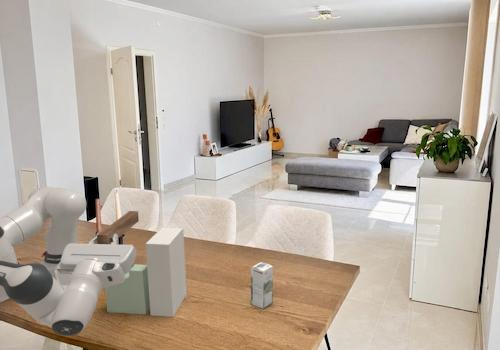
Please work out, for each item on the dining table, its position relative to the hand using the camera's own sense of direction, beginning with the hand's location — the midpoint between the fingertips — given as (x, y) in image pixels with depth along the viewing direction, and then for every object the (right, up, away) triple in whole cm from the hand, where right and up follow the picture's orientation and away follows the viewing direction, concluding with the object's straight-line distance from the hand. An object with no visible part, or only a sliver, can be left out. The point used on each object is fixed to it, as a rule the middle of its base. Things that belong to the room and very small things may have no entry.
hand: (107, 234), depth 123 cm
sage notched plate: (-1, -30, +25) cm, 39 cm away
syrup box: (+46, -29, +27) cm, 61 cm away
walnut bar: (+1, 0, +8) cm, 8 cm away
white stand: (+13, -29, +28) cm, 42 cm away
